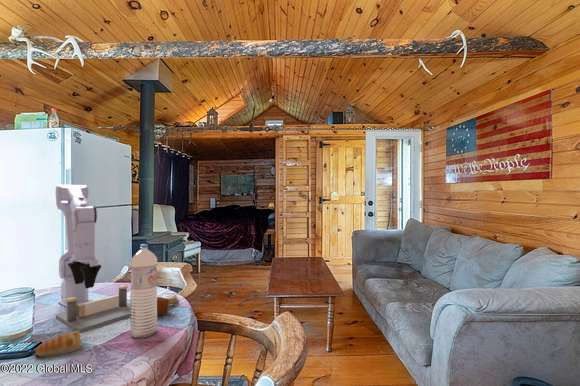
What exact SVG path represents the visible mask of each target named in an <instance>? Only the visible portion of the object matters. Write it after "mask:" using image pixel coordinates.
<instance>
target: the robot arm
mask: <svg viewBox="0 0 580 386" xmlns="http://www.w3.org/2000/svg"><path fill="white" fill-rule="evenodd" d="M55 204H56V206H57V209H58V210H60V211H61V212H62V213H63V216H64V219H65V220H64V223H65V234H66V245H67V252H65V253H63V254H62V255H61V256H60V257H59V259H58V273H59V274H58V276H59V278H60V279H61V280H62V282H61V284H60V300H58V301H57V303H59V304H60V305H62V306H64V307H66V308H67V302H66V299H67V298H71V297H77V298H78V300H77V304H81V303H87V302H91V301H94V299H91V298H89V289H90V288H91V289H92V288H94V286H95V283H96V280H97V279H96V278H97V276H98V274H99V271H100V270H101V268H102V265H101V264H99V259H97V257H96V256H95V254H96V253H95V252H96V251H95V250H96V249H95V247H96V246H95V243H96V242H95V241H96V240H95V239H96V238H95V237H96V236H95V235H96V232H95V231H96V230H95V229H96V227H95V225H96V223H97V220H98V211H97V206H95V205H91V203H90V201H89V187H88V185H87V184H57V185H56V186H55Z"/></svg>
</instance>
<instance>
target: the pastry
mask: <svg viewBox="0 0 580 386" xmlns="http://www.w3.org/2000/svg"><path fill="white" fill-rule="evenodd" d="M81 348H82V339H81V332H79V331H76V330H75V331H74V332H67V333H63V334H60V335H59V336H55V337H53V338H52V339H49V340H47V341H46V342H43V343H41V344H39V345H38V346H37V347H36V349H35V355H36V356H38V357H40V358H41V357H42V358H43V357H50V356H59V355H63V354H69V353H72V352H76V351H78V350H81Z"/></svg>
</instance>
